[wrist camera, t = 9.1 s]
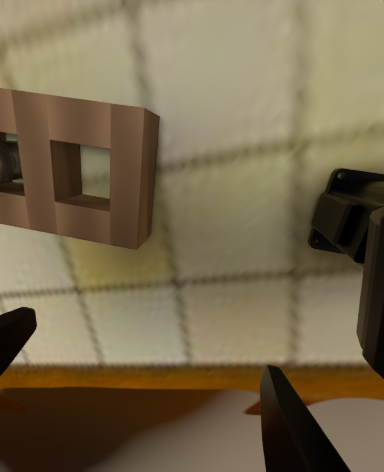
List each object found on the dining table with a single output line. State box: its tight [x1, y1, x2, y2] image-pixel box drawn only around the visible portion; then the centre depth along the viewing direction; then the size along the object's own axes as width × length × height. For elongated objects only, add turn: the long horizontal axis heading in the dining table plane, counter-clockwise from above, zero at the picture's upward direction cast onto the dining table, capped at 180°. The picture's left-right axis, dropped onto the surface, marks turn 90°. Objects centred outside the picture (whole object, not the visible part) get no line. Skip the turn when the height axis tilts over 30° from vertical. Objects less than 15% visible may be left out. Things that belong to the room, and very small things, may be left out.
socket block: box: [0, 88, 160, 250], centre depth 18 cm, size 16×10×4 cm, turn 82°
